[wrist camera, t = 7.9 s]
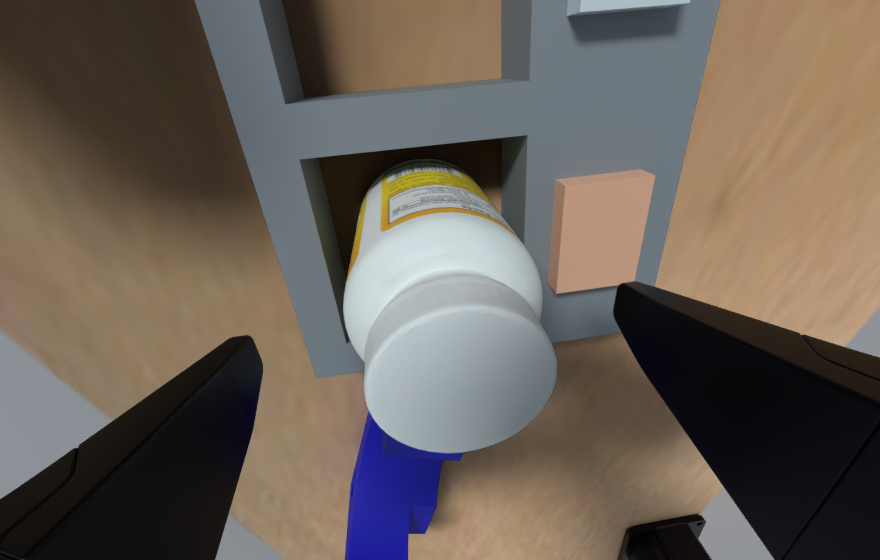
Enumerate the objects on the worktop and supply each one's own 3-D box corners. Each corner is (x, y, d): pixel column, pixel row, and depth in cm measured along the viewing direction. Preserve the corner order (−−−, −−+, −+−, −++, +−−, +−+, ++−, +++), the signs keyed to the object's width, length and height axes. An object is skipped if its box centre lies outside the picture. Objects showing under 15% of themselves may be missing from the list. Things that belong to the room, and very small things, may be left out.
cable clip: (420, 485, 25) (430, 595, 20) (350, 482, 24) (342, 598, 19) (475, 339, 20) (508, 437, 14) (388, 327, 19) (390, 428, 13)
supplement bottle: (423, 125, 14) (480, 205, 6) (510, 220, 16) (641, 374, 8) (330, 225, 16) (268, 405, 7) (423, 299, 18) (457, 501, 9)
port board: (609, 293, 19) (656, 340, 16) (326, 333, 18) (313, 393, 15) (712, -339, 10) (881, -550, 6) (136, -332, 9) (-15, -580, 5)
